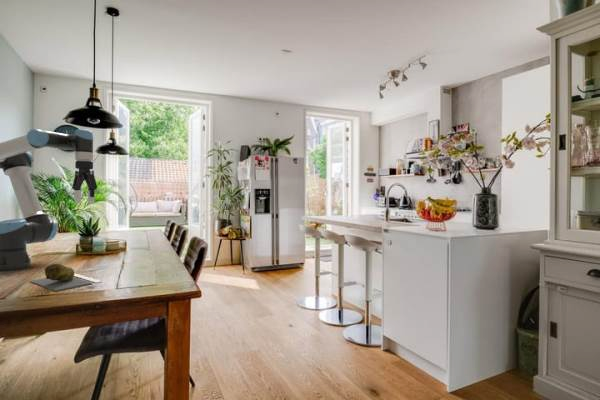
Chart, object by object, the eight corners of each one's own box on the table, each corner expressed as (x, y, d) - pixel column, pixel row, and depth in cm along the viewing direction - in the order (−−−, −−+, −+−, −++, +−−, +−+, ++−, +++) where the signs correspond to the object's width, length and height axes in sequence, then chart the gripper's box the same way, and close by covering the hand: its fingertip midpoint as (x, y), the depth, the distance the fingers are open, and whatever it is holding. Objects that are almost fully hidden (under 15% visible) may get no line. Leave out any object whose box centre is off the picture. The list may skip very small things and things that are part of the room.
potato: (83, 279, 147) (82, 260, 147) (51, 286, 135) (51, 266, 135) (69, 277, 150) (69, 258, 150) (38, 284, 138) (37, 264, 138)
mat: (29, 281, 144) (29, 280, 144) (64, 275, 155) (64, 274, 155) (55, 291, 131) (55, 290, 131) (91, 284, 141) (91, 282, 141)
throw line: (68, 274, 156) (68, 274, 156) (74, 273, 158) (74, 273, 158) (96, 283, 143) (96, 282, 143) (102, 281, 145) (102, 281, 145)
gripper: (105, 160, 169) (105, 204, 169) (80, 162, 182) (80, 202, 183) (88, 159, 163) (89, 204, 163) (64, 161, 176) (64, 202, 177)
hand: (84, 203), depth 173 cm, fingers open, 13 cm apart
